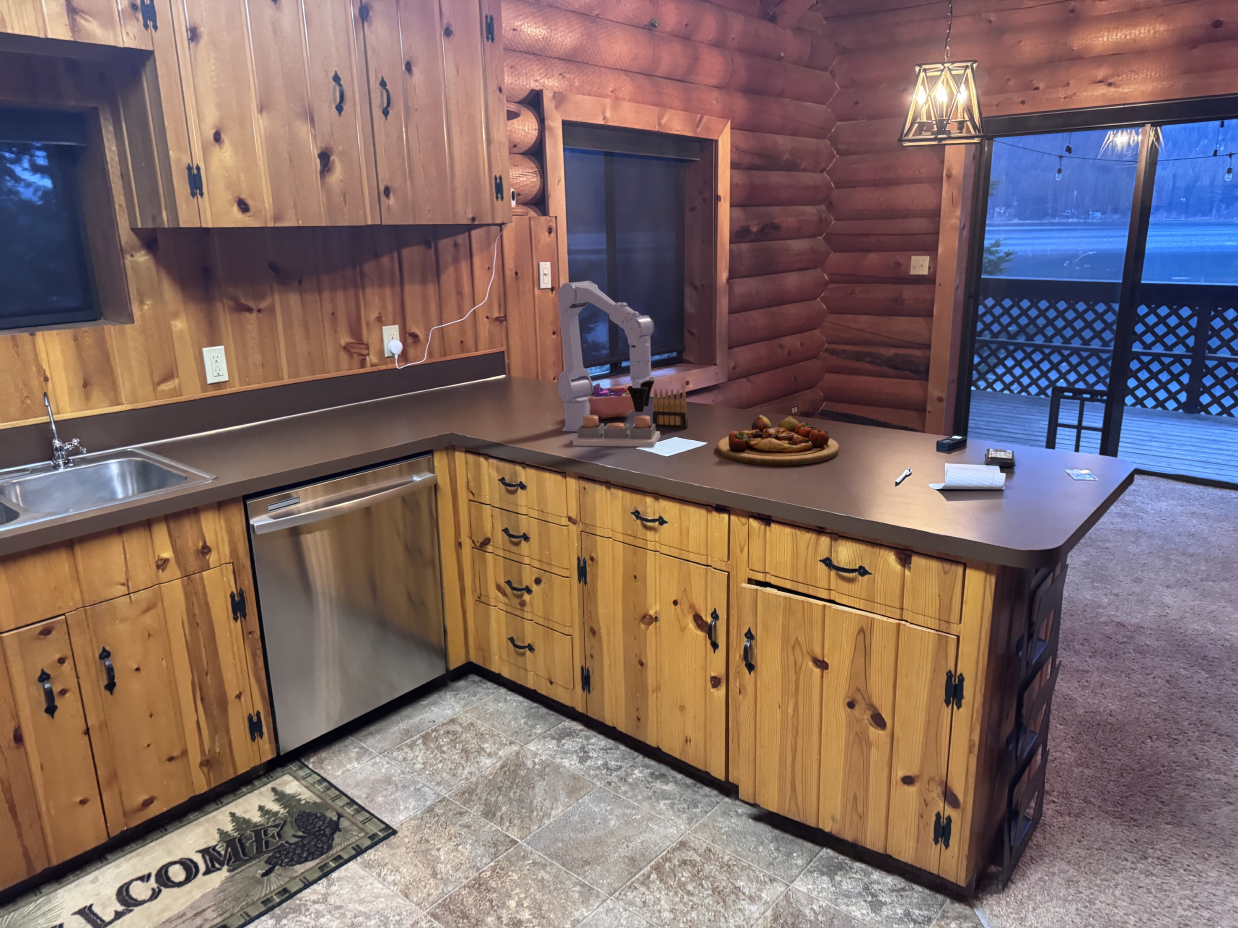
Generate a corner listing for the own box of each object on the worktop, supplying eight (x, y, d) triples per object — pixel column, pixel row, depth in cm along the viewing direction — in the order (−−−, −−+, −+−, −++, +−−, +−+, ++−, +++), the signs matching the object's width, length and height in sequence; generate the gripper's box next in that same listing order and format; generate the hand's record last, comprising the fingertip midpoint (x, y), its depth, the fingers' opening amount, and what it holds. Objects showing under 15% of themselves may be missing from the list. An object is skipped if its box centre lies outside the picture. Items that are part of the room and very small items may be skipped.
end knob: (585, 425, 248) (584, 414, 247) (600, 425, 247) (599, 415, 246) (581, 429, 244) (581, 418, 243) (596, 429, 243) (596, 418, 242)
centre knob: (610, 433, 247) (610, 422, 246) (625, 433, 246) (625, 422, 245) (607, 437, 243) (607, 426, 242) (623, 437, 242) (622, 426, 241)
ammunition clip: (652, 427, 259) (651, 388, 256) (654, 426, 261) (653, 387, 258) (686, 429, 256) (686, 389, 253) (688, 428, 257) (687, 388, 254)
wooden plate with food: (739, 473, 211) (739, 440, 209) (702, 442, 241) (702, 414, 239) (860, 462, 217) (861, 430, 214) (809, 434, 247) (810, 406, 245)
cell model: (641, 423, 266) (640, 387, 263) (577, 424, 267) (575, 388, 264) (641, 411, 283) (640, 377, 280) (580, 413, 283) (579, 379, 280)
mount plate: (582, 435, 253) (582, 421, 252) (660, 436, 248) (659, 421, 247) (572, 445, 241) (572, 430, 240) (653, 446, 237) (653, 431, 236)
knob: (636, 426, 245) (636, 415, 244) (651, 426, 244) (651, 415, 243) (633, 429, 241) (633, 418, 240) (649, 430, 240) (648, 418, 239)
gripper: (649, 364, 229) (651, 414, 233) (659, 356, 243) (660, 403, 247) (624, 364, 231) (625, 414, 234) (634, 356, 244) (636, 403, 248)
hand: (641, 409), depth 241 cm, fingers open, 7 cm apart
